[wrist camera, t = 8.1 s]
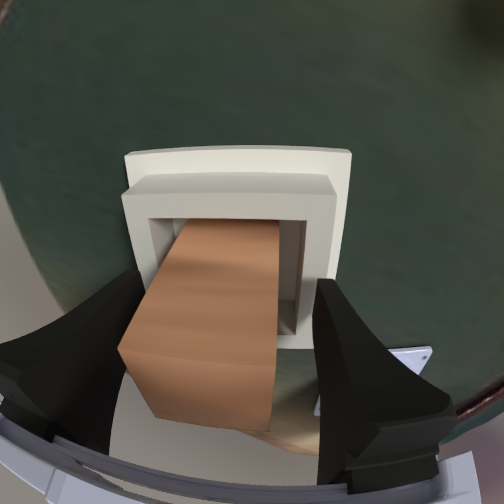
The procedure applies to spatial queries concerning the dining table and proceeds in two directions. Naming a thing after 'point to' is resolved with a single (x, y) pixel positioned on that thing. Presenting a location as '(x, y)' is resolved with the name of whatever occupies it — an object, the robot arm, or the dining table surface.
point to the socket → (246, 211)
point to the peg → (210, 326)
